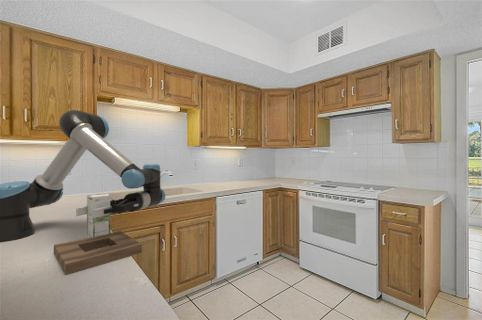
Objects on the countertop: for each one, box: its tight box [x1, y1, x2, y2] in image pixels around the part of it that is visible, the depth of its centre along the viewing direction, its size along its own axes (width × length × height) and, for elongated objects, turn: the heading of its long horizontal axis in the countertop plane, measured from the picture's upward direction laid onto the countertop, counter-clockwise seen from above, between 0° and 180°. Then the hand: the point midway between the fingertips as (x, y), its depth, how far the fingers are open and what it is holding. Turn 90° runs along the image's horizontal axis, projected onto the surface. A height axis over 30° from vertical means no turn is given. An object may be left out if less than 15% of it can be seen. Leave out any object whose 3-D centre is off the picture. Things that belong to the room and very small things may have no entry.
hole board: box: [53, 230, 143, 275], centre depth 82 cm, size 22×22×3 cm
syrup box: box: [86, 193, 111, 238], centre depth 82 cm, size 6×6×14 cm
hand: (85, 213), depth 78 cm, fingers closed on syrup box, 7 cm apart
